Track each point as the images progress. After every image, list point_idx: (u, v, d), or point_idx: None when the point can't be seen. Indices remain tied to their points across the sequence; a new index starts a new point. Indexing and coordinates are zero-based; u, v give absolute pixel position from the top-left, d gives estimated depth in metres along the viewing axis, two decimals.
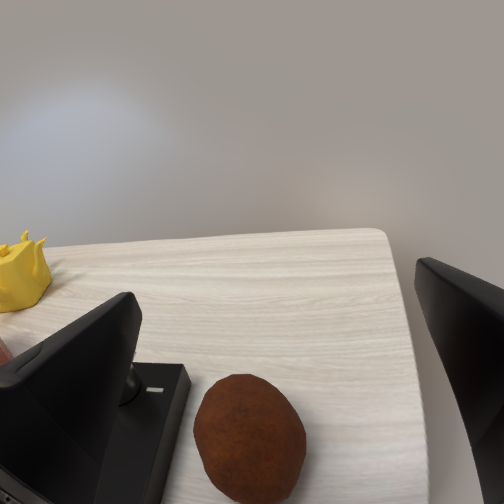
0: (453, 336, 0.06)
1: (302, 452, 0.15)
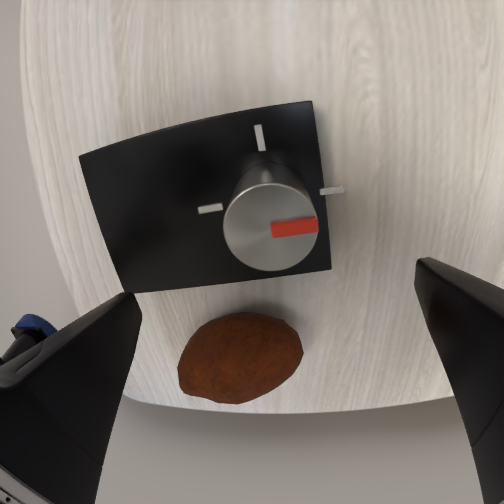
0: (453, 336, 0.06)
1: None
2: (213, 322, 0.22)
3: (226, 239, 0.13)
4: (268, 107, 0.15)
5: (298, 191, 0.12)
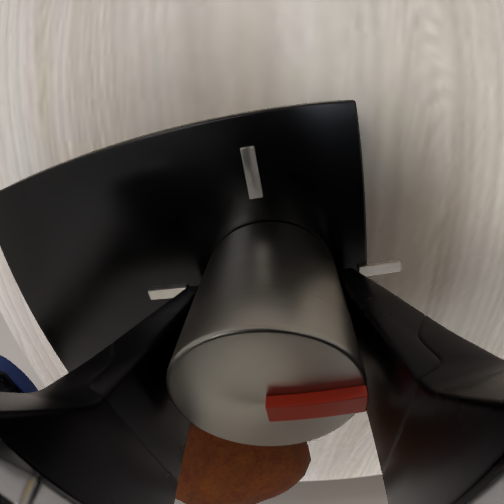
0: (361, 354, 0.07)
1: None
2: None
3: (177, 407, 0.06)
4: (269, 111, 0.07)
5: (335, 341, 0.05)
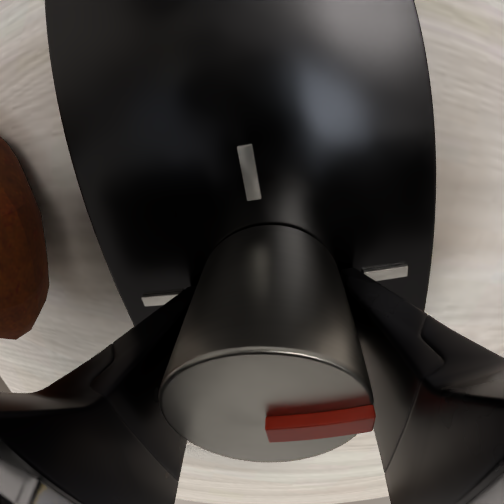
0: (364, 354, 0.07)
1: None
2: (11, 171, 0.08)
3: (171, 425, 0.05)
4: (427, 284, 0.09)
5: (341, 362, 0.04)
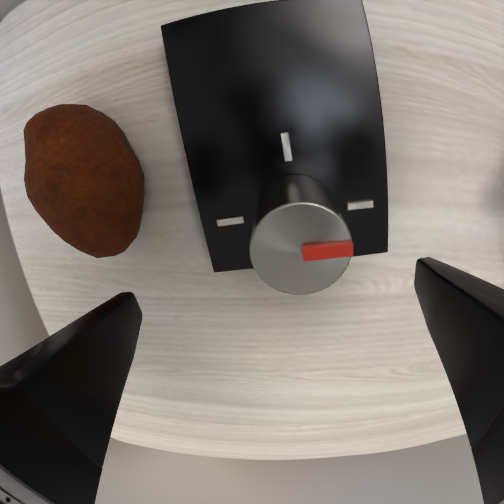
0: (453, 336, 0.06)
1: None
2: (125, 140, 0.15)
3: (252, 260, 0.12)
4: (387, 214, 0.16)
5: (334, 211, 0.11)
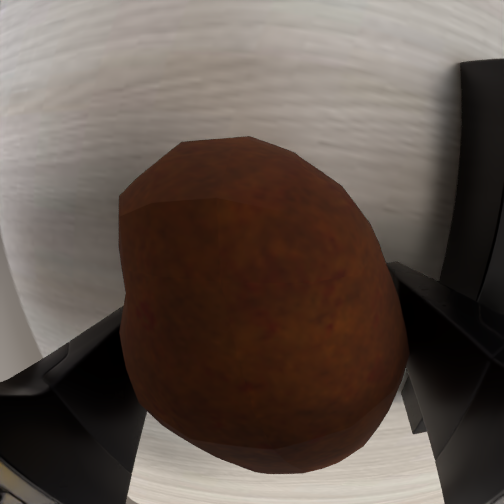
0: (416, 345, 0.06)
1: None
2: None
3: None
4: None
5: None
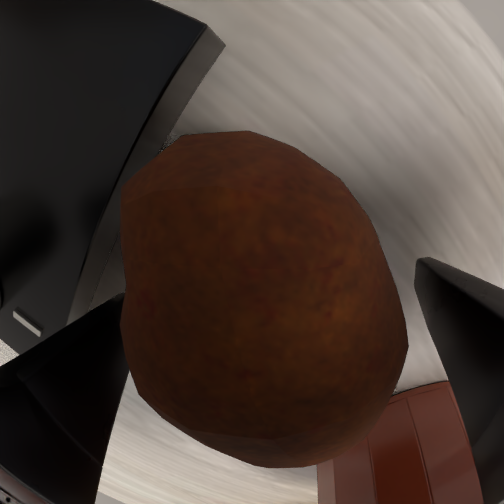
0: (453, 336, 0.06)
1: None
2: None
3: None
4: None
5: None
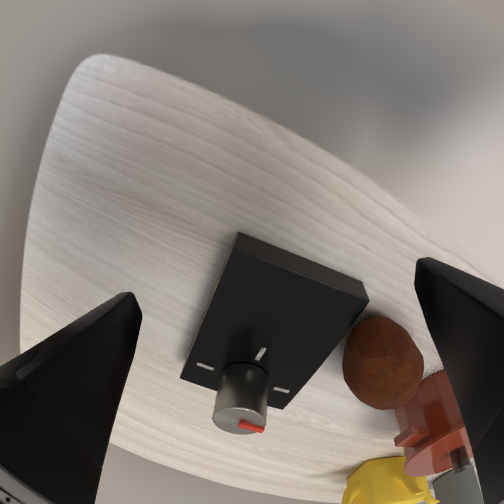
0: (453, 336, 0.06)
1: (345, 368, 0.23)
2: None
3: (213, 416, 0.21)
4: (293, 397, 0.26)
5: (263, 417, 0.20)
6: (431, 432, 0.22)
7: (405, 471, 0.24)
